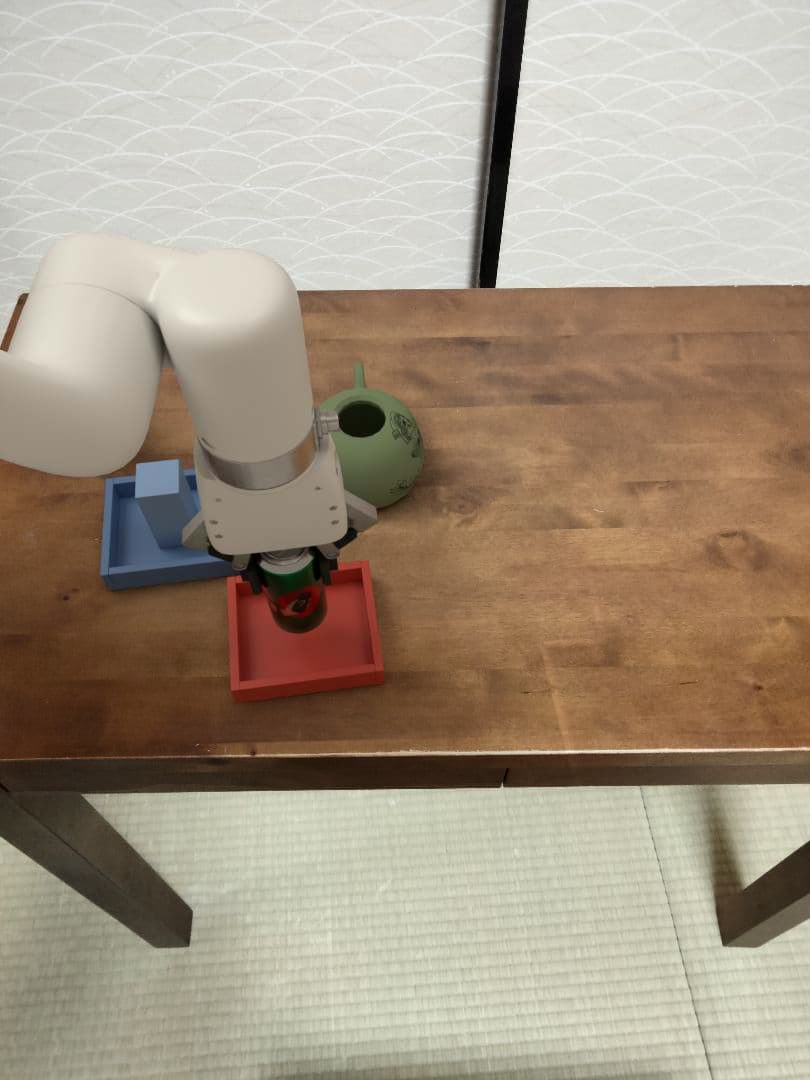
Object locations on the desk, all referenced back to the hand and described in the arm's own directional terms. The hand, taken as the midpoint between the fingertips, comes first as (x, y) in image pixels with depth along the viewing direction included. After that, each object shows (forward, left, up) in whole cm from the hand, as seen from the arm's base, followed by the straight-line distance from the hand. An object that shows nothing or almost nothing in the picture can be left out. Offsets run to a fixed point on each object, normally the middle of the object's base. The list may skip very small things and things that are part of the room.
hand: (291, 573), depth 68 cm
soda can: (0, 0, -7) cm, 7 cm away
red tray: (0, 0, -12) cm, 12 cm away
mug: (+8, +21, -12) cm, 25 cm away
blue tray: (-12, +14, -12) cm, 22 cm away
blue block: (-12, +14, -11) cm, 21 cm away
